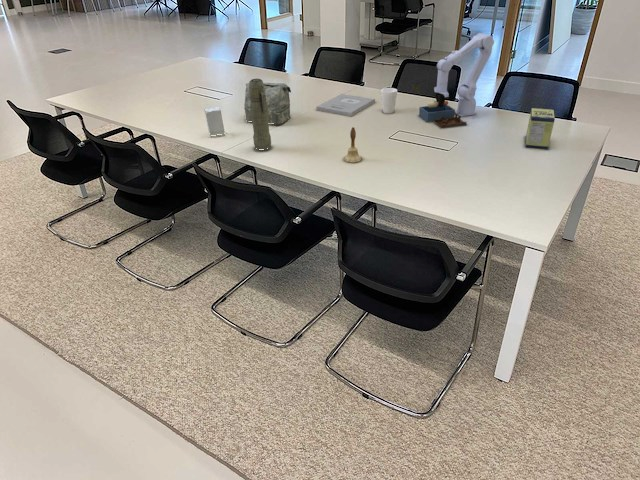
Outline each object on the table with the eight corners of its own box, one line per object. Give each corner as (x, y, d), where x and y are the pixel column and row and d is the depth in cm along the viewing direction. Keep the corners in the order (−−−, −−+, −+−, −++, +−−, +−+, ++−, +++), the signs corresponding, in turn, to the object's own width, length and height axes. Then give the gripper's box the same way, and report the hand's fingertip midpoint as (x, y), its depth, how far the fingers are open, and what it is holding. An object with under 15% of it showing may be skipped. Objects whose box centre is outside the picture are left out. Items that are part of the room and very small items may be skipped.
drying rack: (458, 119, 279) (459, 111, 277) (466, 125, 272) (467, 117, 269) (434, 122, 277) (435, 114, 274) (441, 128, 269) (442, 120, 267)
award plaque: (316, 110, 302) (316, 106, 301) (341, 97, 323) (341, 93, 322) (350, 116, 290) (350, 112, 289) (374, 102, 311) (374, 98, 310)
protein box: (546, 138, 252) (553, 108, 244) (548, 149, 240) (555, 119, 231) (525, 136, 255) (531, 107, 247) (525, 147, 243) (531, 117, 234)
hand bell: (344, 156, 242) (344, 124, 233) (361, 155, 242) (361, 124, 233) (344, 163, 235) (344, 131, 226) (361, 162, 235) (362, 130, 226)
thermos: (264, 153, 248) (256, 84, 229) (249, 148, 255) (241, 80, 236) (277, 148, 253) (271, 79, 234) (262, 143, 260) (255, 75, 241)
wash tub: (445, 112, 290) (445, 103, 287) (454, 118, 281) (455, 109, 278) (418, 115, 287) (419, 106, 284) (427, 122, 278) (428, 113, 275)
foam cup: (395, 114, 290) (396, 92, 283) (379, 114, 292) (380, 92, 285) (396, 109, 298) (397, 88, 291) (381, 109, 300) (382, 87, 293)
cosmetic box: (223, 132, 275) (219, 106, 267) (225, 135, 271) (221, 109, 263) (208, 134, 273) (204, 108, 265) (210, 138, 268) (205, 111, 260)
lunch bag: (295, 117, 293) (293, 80, 281) (282, 127, 279) (279, 88, 267) (257, 113, 301) (253, 76, 289) (242, 122, 287) (238, 85, 275)
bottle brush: (445, 104, 283) (446, 98, 281) (448, 106, 280) (449, 100, 278) (426, 106, 281) (426, 101, 279) (428, 108, 278) (429, 102, 276)
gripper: (430, 79, 278) (428, 103, 286) (441, 86, 267) (438, 110, 274) (441, 78, 280) (439, 101, 287) (453, 85, 268) (450, 109, 275)
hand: (439, 106), depth 281 cm, fingers closed on bottle brush, 2 cm apart
